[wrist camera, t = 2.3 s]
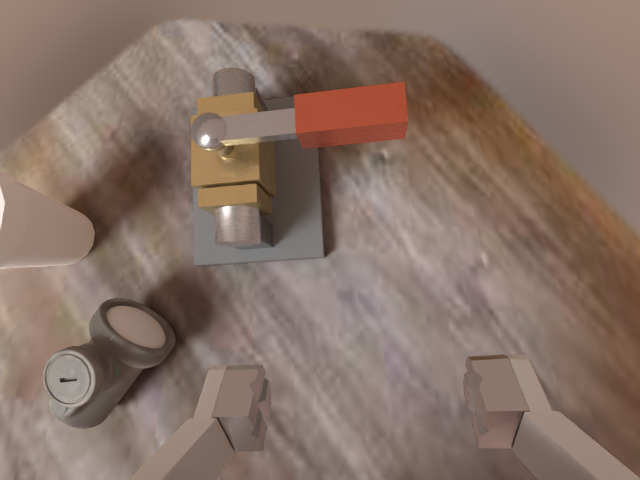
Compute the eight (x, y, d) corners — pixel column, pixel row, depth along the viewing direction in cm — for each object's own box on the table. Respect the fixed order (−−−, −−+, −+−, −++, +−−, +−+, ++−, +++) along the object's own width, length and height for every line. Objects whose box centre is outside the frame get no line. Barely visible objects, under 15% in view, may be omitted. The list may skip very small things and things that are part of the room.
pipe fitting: (138, 289, 43) (66, 303, 33) (191, 337, 43) (134, 367, 32) (75, 369, 44) (-13, 407, 34) (126, 418, 44) (51, 472, 33)
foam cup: (104, 192, 46) (2, 151, 33) (110, 269, 45) (7, 257, 32) (31, 208, 47) (-95, 174, 34) (35, 284, 46) (-95, 278, 33)
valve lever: (202, 159, 32) (185, 145, 29) (201, 125, 33) (185, 107, 30) (404, 138, 30) (408, 121, 27) (401, 102, 31) (404, 81, 28)
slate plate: (199, 266, 43) (193, 265, 42) (198, 114, 46) (192, 108, 45) (325, 257, 42) (323, 256, 40) (315, 100, 45) (313, 93, 43)
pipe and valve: (229, 253, 42) (179, 237, 31) (226, 112, 44) (179, 51, 33) (284, 249, 41) (254, 231, 30) (278, 106, 43) (248, 41, 32)
